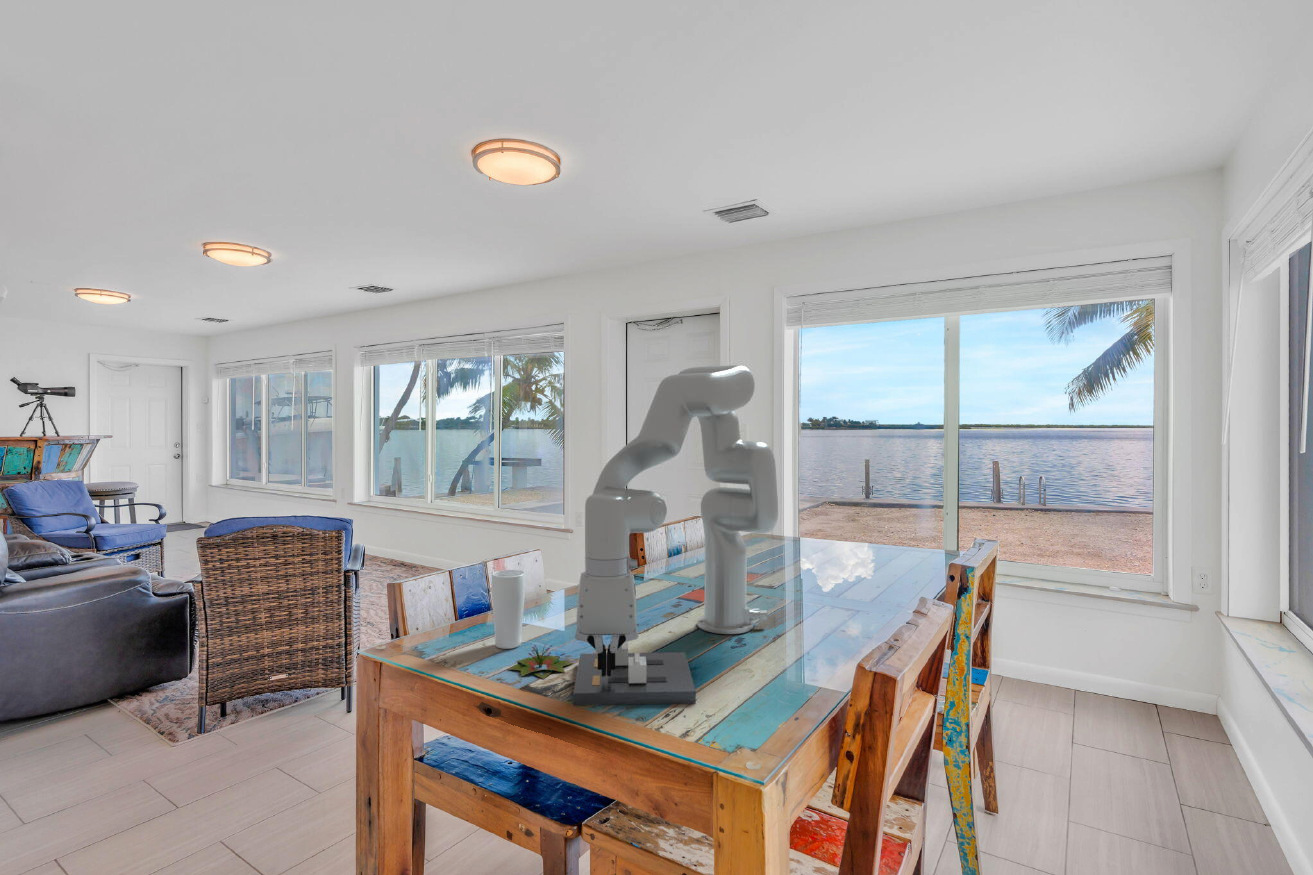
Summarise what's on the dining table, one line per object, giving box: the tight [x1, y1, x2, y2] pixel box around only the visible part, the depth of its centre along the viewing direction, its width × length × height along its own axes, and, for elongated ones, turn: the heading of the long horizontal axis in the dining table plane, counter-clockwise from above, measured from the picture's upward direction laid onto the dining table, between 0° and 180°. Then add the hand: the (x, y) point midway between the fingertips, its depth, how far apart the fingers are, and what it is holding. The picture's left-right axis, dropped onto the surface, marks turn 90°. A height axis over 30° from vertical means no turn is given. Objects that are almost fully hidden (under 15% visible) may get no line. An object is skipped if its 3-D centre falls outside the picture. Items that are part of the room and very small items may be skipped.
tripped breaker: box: [628, 652, 647, 683], centre depth 109 cm, size 3×4×4 cm
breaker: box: [615, 641, 629, 665], centre depth 117 cm, size 3×4×4 cm
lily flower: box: [507, 643, 574, 680], centre depth 120 cm, size 12×12×5 cm
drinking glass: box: [491, 569, 526, 650], centre depth 131 cm, size 7×7×15 cm
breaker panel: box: [572, 651, 697, 707], centre depth 113 cm, size 20×18×2 cm
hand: (606, 673), depth 108 cm, fingers closed
